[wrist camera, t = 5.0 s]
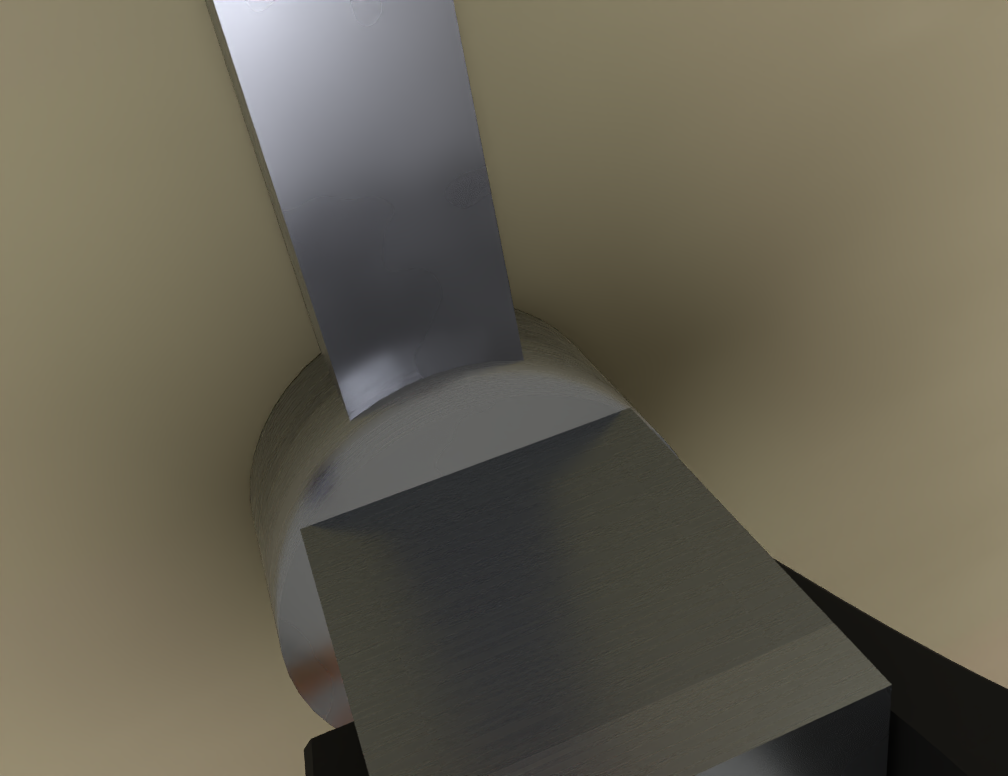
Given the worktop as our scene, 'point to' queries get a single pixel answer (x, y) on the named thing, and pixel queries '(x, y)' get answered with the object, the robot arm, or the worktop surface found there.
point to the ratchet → (382, 285)
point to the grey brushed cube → (585, 626)
